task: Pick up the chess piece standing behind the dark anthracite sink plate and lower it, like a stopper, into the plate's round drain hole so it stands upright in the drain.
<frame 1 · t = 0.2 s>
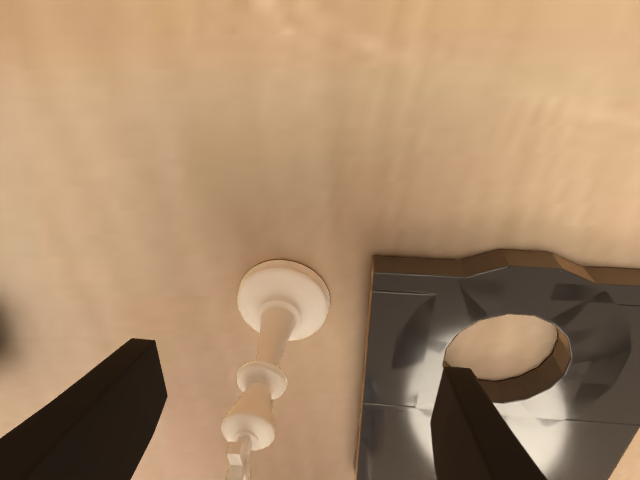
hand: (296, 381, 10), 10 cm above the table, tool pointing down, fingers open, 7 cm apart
sink plate: (490, 392, 24), on the table
chess piece: (285, 296, 22), on the table
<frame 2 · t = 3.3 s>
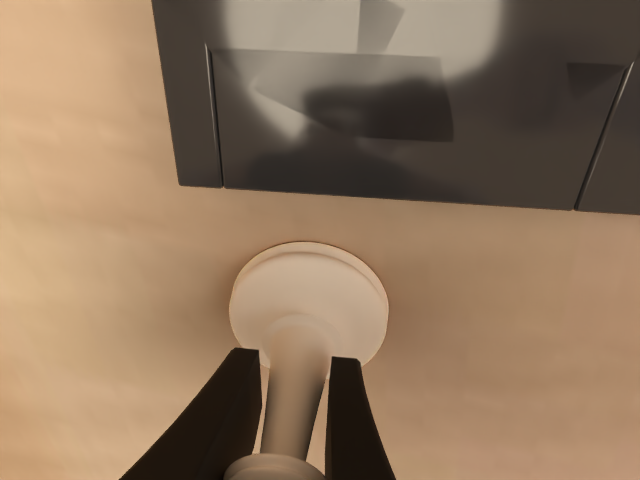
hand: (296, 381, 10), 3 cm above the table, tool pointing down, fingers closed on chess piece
chess piece: (310, 305, 13), on the table, touching gripper
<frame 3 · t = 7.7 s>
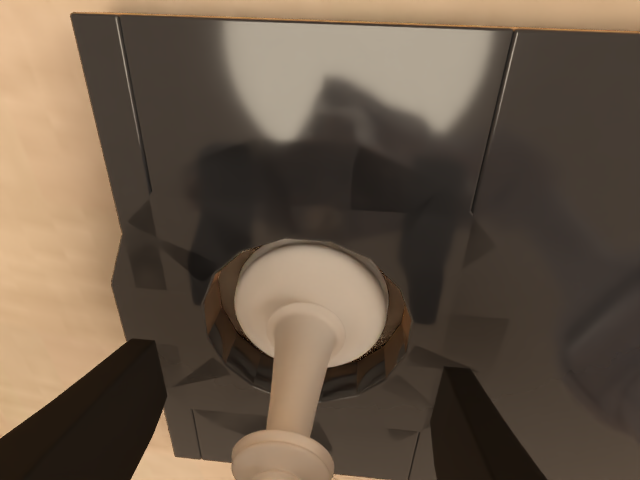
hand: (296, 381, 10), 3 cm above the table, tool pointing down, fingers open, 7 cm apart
sink plate: (438, 296, 13), on the table
chess piece: (312, 295, 13), resting in sink plate
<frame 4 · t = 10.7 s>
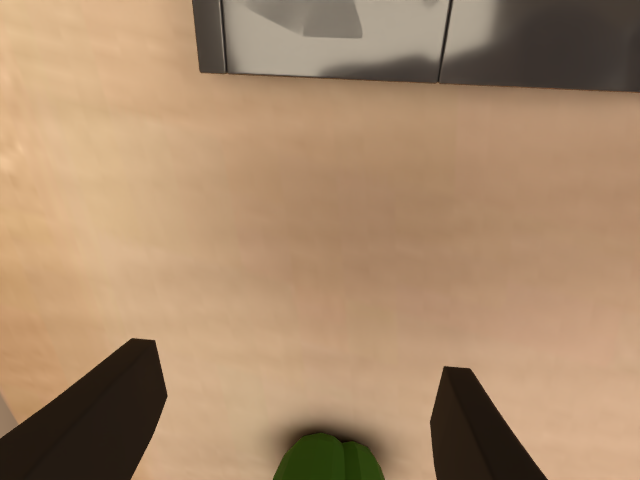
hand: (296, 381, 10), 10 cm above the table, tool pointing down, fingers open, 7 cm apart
bell pepper: (331, 452, 29), on the table
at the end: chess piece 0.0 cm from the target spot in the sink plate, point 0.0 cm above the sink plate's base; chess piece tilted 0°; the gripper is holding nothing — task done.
